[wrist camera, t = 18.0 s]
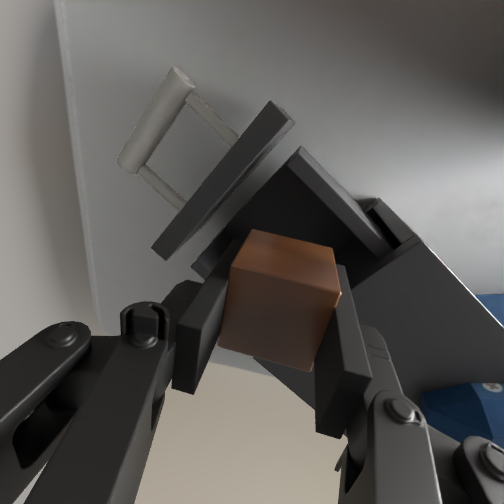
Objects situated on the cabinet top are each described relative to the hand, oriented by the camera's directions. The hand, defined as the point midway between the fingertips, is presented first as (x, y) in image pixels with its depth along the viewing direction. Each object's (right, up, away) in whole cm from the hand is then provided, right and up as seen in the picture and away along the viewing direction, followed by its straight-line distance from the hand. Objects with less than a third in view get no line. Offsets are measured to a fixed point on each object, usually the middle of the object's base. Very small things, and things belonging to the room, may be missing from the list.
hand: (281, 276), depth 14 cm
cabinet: (+8, -2, +10) cm, 13 cm away
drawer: (-1, +6, +7) cm, 9 cm away
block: (0, 0, 0) cm, 0 cm away
